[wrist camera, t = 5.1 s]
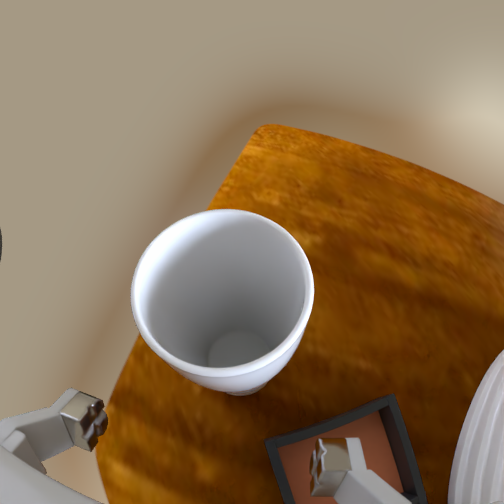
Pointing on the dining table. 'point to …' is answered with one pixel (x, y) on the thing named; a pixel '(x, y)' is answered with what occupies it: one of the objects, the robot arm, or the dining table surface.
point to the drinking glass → (223, 299)
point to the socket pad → (373, 445)
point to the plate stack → (481, 444)
